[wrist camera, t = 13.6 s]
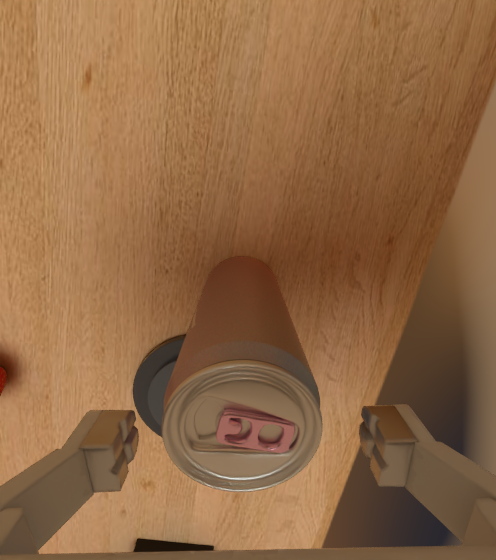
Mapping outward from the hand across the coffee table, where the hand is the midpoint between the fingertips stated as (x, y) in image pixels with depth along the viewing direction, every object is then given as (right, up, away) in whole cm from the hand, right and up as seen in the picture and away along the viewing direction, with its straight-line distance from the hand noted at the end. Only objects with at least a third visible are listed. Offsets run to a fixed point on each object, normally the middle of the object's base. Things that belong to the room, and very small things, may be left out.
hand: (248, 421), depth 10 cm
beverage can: (-1, +4, +14) cm, 15 cm away
